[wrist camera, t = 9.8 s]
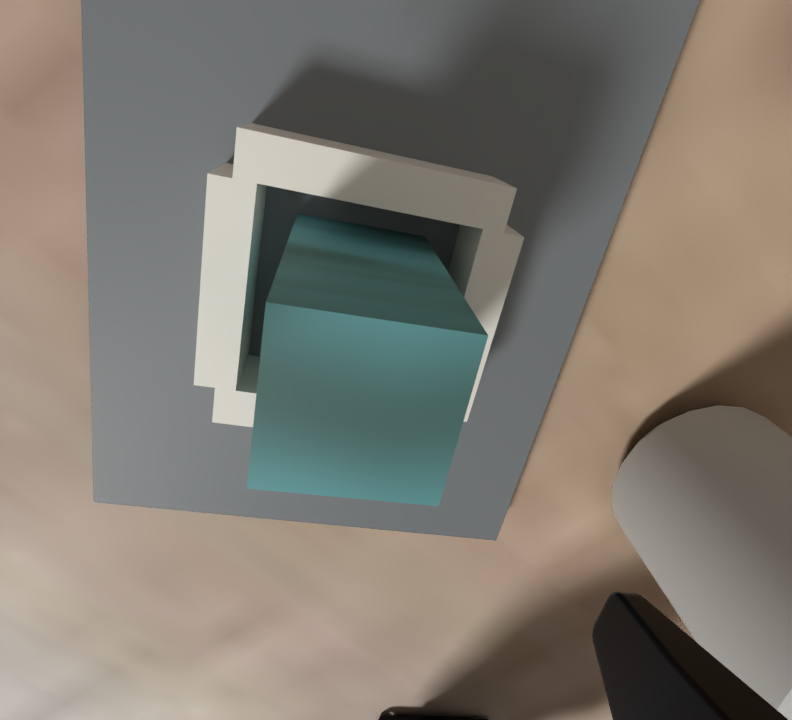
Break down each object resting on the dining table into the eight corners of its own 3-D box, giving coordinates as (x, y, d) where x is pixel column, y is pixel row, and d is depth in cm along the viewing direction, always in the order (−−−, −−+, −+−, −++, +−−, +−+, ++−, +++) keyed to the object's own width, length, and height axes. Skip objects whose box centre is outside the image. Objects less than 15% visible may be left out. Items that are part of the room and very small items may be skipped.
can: (614, 552, 26) (813, 877, 15) (589, 429, 22) (820, 732, 12) (769, 502, 25) (1087, 801, 15) (766, 370, 22) (1175, 628, 11)
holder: (488, 520, 24) (513, 587, 21) (105, 481, 21) (62, 552, 18) (678, 0, 16) (767, -26, 13) (97, -175, 13) (16, -267, 10)
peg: (400, 350, 19) (438, 506, 11) (283, 333, 18) (246, 488, 11) (425, 236, 17) (488, 335, 10) (297, 213, 16) (266, 302, 9)
